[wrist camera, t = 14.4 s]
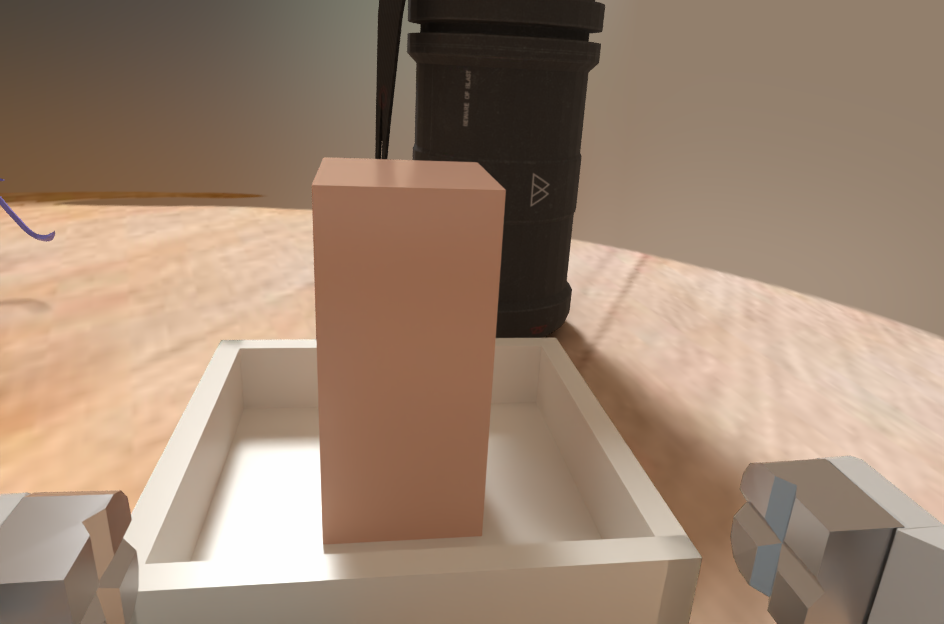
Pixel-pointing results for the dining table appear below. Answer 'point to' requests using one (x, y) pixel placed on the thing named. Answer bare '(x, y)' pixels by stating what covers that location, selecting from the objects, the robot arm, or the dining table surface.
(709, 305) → the dining table surface
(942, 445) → the dining table surface
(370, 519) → the tall salmon pillar
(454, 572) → the box
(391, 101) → the grenade
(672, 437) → the dining table surface
